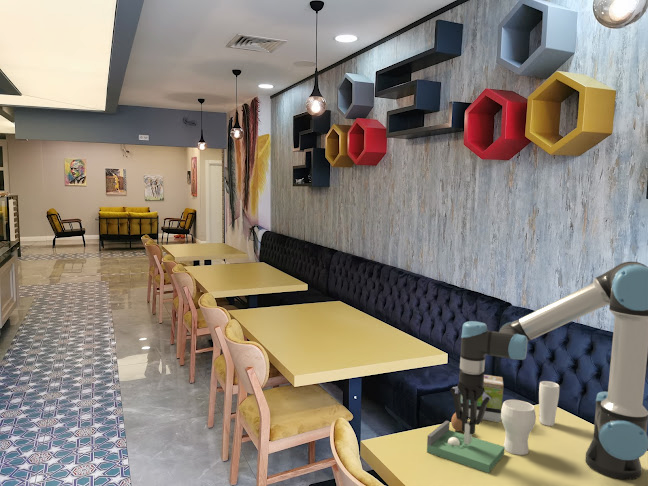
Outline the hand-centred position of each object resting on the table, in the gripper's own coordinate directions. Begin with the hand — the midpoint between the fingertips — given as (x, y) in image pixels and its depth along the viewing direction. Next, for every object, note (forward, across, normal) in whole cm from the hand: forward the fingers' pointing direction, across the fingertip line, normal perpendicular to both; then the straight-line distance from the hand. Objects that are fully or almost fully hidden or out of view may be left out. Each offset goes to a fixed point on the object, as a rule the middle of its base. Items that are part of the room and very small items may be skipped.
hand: (467, 442), depth 164 cm
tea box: (+4, +8, -34) cm, 35 cm away
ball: (+2, +4, 0) cm, 5 cm away
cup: (+4, -12, -14) cm, 18 cm away
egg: (+4, +8, -14) cm, 17 cm away
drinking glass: (+4, -14, -42) cm, 45 cm away
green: (+4, 0, 0) cm, 4 cm away
